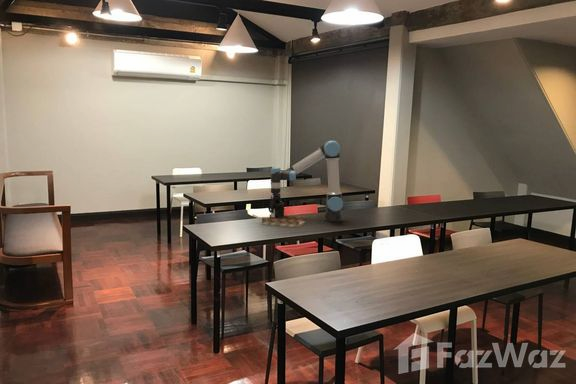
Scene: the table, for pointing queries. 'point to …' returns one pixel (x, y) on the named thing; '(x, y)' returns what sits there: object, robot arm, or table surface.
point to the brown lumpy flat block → (285, 221)
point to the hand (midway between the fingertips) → (275, 215)
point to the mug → (278, 210)
